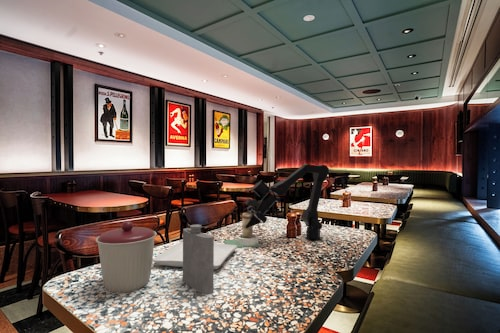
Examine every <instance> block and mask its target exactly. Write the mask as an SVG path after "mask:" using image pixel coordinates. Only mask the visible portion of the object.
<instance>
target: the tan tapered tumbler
mask: <svg viewBox="0 0 500 333" xmlns="http://www.w3.org/2000/svg"><path fill="white" fill-rule="evenodd" d="M252 214H253V213H248V212H243V213H242V215H241V217H242V218H241V219H242V222H241V223H242V224H241V225H242V229H241V230H242V233H241V234H242V235H243V238H245V239H250V238H253V232H254V231H253V227H254V226H251V227H249V228H246V225H247V224H248V222H249V221H250V219H251V218H252Z"/></svg>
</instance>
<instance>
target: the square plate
mask: <svg viewBox="0 0 500 333" xmlns="http://www.w3.org/2000/svg"><path fill="white" fill-rule="evenodd" d="M236 249H238V248H237V245H227V244H225V243H217V242H216V243H215V242H214V270H218V269H219V268H220V267H221V266H222V265H223V263H224V262H225V261H226V260H227V259H228V257H230V256H231V255H232V254H233V253H234V252H235V250H236ZM152 263H155V264H157V265H159V266H167V267H173V268H174V267H175V268H176V267H177V268H183V241H180V242H179V243H177V244H175V245H173V246H171V247H169V248H167V249H166V250H164V251H163V252H161V253H160V254H157V255H156V256H155V257H154V258H153V259H152Z"/></svg>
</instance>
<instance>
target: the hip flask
mask: <svg viewBox="0 0 500 333" xmlns="http://www.w3.org/2000/svg"><path fill="white" fill-rule="evenodd" d="M214 240H215V236H214V235H211V234H207V233H204V232H202V224H191V225H190V226H189V227H186V228H183V230H182V242H183V267H182V280H183V282H184V283H185V284H186V285H188V286H189V287H190V288H192V289H194V290H196V291H197V292H199V293H202V294H204V295H211V294H213V293H214V279H215V278H214V275H215V274H214V243H215V242H214Z"/></svg>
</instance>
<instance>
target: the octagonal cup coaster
mask: <svg viewBox="0 0 500 333" xmlns="http://www.w3.org/2000/svg"><path fill="white" fill-rule="evenodd" d="M223 244H227V245H237V248H236V249H240V248H242V249H243V248H253V247H256V248H257V247H261V244H260V243H259V236H258V235H257V234H255V233H254V234H253V238H250V239H245V238H243V235H242V233H241V234H238V235H237V236H236V239H227V240H223Z"/></svg>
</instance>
